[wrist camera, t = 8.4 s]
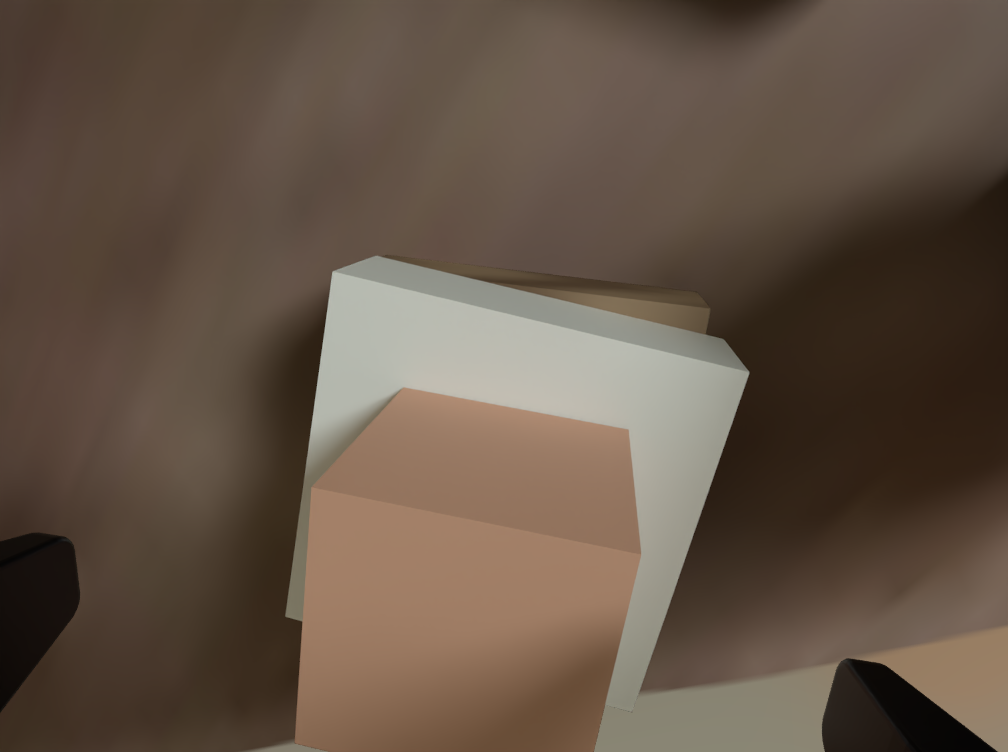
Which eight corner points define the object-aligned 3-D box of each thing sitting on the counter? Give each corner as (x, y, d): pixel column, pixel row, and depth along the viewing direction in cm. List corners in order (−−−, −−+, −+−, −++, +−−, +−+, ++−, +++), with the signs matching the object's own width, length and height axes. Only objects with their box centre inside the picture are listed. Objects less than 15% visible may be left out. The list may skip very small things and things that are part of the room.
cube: (628, 429, 15) (640, 554, 10) (586, 622, 16) (579, 811, 11) (403, 387, 15) (311, 487, 10) (383, 579, 16) (294, 743, 12)
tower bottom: (694, 289, 19) (710, 308, 17) (644, 561, 22) (651, 618, 19) (391, 253, 20) (357, 265, 17) (377, 519, 23) (346, 567, 20)
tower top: (723, 338, 17) (749, 372, 14) (627, 633, 19) (631, 712, 17) (375, 255, 17) (332, 271, 14) (329, 553, 20) (285, 616, 17)
